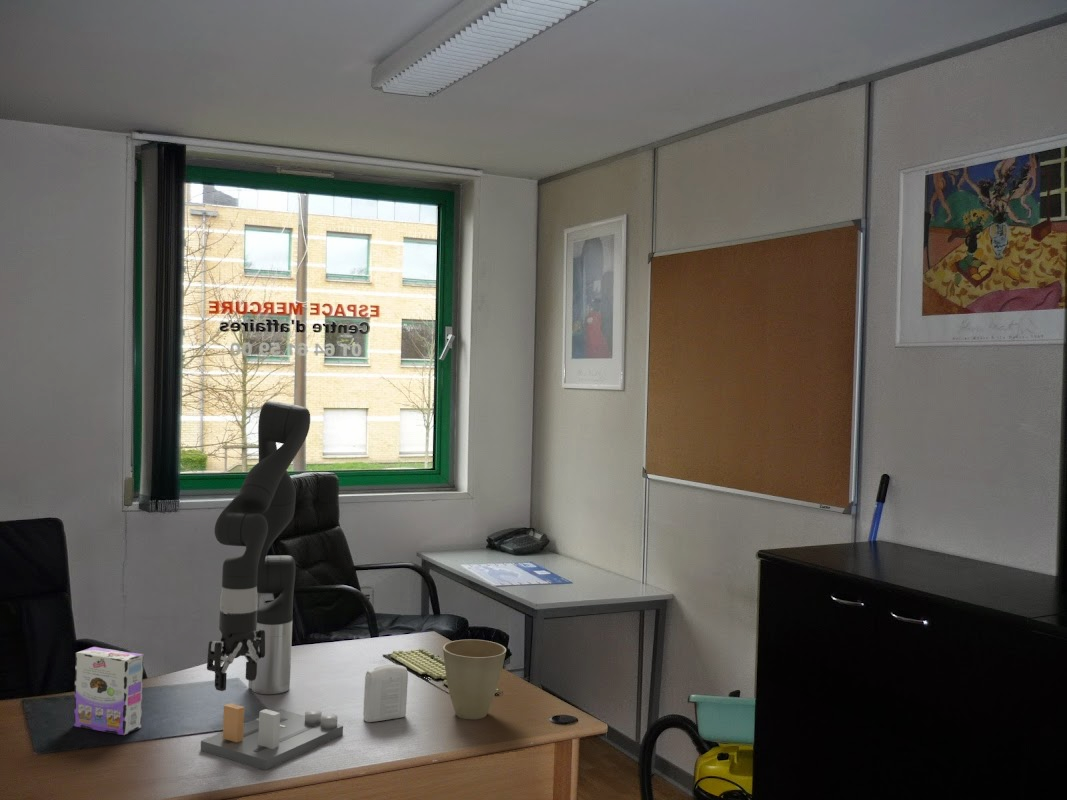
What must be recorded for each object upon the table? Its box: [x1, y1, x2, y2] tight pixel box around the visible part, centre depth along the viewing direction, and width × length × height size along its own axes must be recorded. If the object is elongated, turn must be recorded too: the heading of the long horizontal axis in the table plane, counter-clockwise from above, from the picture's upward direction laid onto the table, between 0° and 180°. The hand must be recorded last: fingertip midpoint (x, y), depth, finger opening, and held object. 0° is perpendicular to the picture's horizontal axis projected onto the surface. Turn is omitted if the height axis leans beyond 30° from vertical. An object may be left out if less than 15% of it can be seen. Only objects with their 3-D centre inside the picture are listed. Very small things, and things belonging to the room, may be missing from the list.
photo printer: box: [362, 663, 409, 723], centre depth 237 cm, size 10×4×12 cm, turn 123°
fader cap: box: [222, 702, 245, 743], centre depth 214 cm, size 4×2×7 cm, turn 62°
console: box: [200, 708, 344, 771], centre depth 219 cm, size 18×24×9 cm
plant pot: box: [442, 638, 507, 720], centre depth 242 cm, size 15×15×16 cm
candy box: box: [73, 646, 144, 736], centre depth 223 cm, size 14×6×16 cm, turn 71°
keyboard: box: [382, 648, 504, 696], centre depth 273 cm, size 45×15×2 cm, turn 35°
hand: (235, 685), depth 213 cm, fingers open, 8 cm apart
